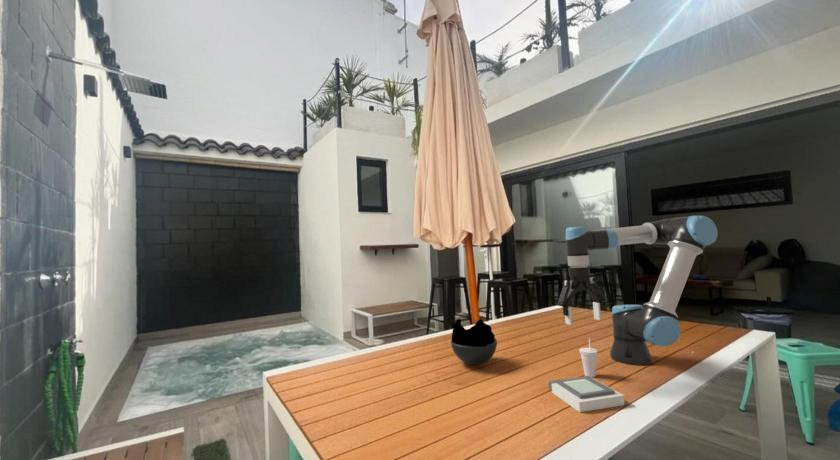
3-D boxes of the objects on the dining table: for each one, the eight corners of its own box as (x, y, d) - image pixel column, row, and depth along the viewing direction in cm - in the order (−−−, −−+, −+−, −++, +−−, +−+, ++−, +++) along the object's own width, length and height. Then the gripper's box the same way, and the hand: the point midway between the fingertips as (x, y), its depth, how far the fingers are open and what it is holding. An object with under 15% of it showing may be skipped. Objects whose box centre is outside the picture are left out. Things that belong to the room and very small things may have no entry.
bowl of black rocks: (507, 364, 145) (505, 320, 146) (473, 376, 134) (471, 328, 134) (475, 353, 161) (473, 313, 162) (442, 362, 150) (440, 320, 151)
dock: (589, 384, 122) (588, 373, 122) (624, 405, 106) (623, 392, 106) (549, 390, 118) (548, 378, 118) (579, 412, 103) (579, 398, 103)
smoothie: (601, 379, 126) (599, 341, 127) (583, 378, 127) (581, 340, 128) (596, 372, 132) (594, 336, 133) (578, 372, 134) (576, 336, 134)
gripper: (597, 263, 138) (601, 315, 137) (545, 268, 131) (549, 323, 130) (612, 264, 131) (617, 319, 130) (558, 269, 123) (563, 328, 123)
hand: (583, 321), depth 130 cm, fingers open, 13 cm apart
